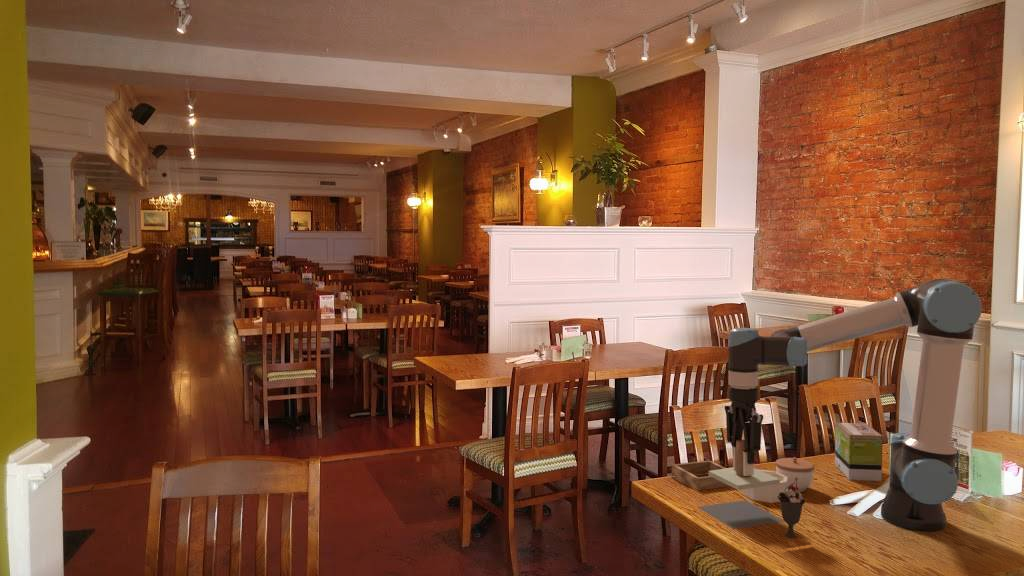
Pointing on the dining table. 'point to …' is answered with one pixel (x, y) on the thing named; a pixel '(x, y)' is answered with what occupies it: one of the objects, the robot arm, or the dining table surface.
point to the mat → (740, 514)
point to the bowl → (768, 489)
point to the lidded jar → (796, 471)
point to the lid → (737, 477)
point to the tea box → (858, 451)
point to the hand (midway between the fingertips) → (743, 472)
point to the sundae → (791, 507)
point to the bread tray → (689, 470)
